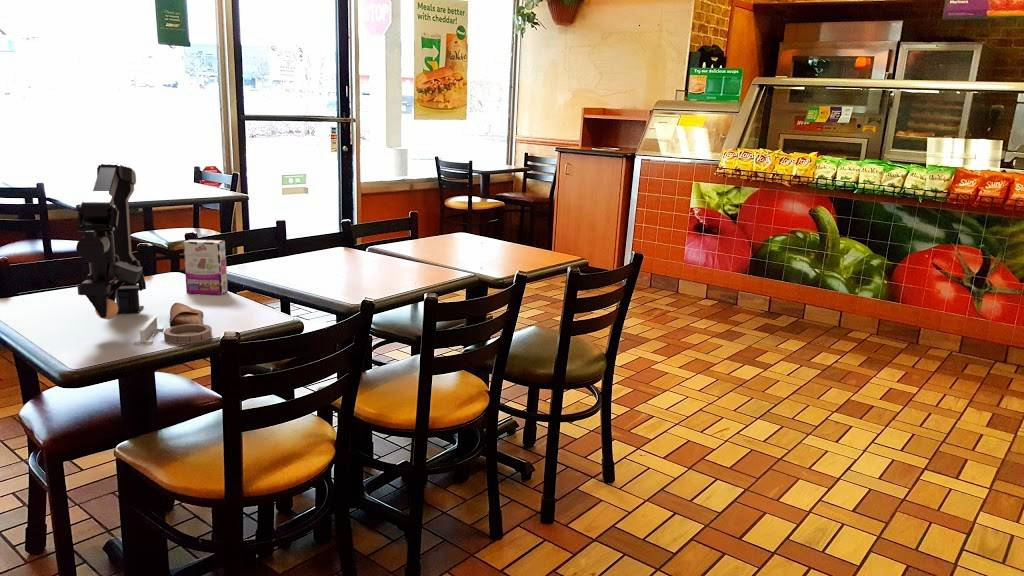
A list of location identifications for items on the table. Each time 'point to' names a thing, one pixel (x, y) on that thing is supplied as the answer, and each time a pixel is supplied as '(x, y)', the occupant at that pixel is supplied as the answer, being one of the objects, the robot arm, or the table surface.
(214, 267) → the candy bar box
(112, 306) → the ball
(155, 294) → the table surface
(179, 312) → the sunglasses case
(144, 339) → the divider
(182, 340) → the saucer
